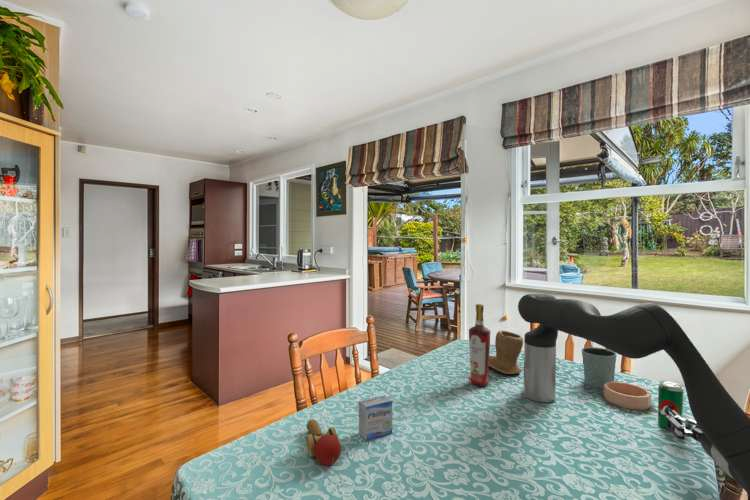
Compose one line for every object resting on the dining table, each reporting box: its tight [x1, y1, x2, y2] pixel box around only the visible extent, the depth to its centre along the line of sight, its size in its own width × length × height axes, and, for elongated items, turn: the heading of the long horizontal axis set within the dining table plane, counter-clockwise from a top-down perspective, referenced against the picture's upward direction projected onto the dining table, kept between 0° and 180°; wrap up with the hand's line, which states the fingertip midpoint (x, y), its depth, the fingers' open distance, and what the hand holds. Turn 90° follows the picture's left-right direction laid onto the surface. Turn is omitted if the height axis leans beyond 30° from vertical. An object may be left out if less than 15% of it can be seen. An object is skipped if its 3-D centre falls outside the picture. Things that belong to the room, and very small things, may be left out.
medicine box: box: [358, 395, 393, 442], centre depth 91 cm, size 8×4×9 cm, turn 118°
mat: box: [597, 390, 658, 414], centre depth 108 cm, size 13×11×1 cm
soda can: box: [657, 380, 684, 432], centre depth 93 cm, size 5×5×12 cm
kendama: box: [305, 418, 342, 466], centre depth 84 cm, size 8×6×18 cm
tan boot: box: [489, 330, 524, 375], centre depth 137 cm, size 15×12×15 cm
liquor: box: [468, 303, 491, 387], centre depth 123 cm, size 7×7×28 cm
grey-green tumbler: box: [581, 346, 618, 390], centre depth 121 cm, size 10×10×12 cm
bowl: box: [603, 380, 652, 411], centre depth 108 cm, size 12×12×4 cm
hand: (694, 417), depth 81 cm, fingers open, 8 cm apart
